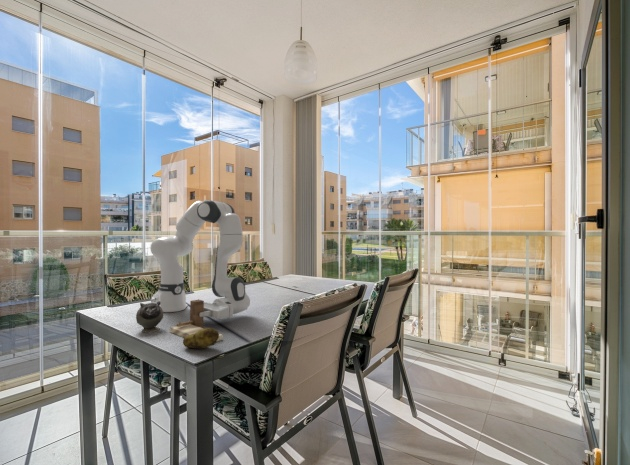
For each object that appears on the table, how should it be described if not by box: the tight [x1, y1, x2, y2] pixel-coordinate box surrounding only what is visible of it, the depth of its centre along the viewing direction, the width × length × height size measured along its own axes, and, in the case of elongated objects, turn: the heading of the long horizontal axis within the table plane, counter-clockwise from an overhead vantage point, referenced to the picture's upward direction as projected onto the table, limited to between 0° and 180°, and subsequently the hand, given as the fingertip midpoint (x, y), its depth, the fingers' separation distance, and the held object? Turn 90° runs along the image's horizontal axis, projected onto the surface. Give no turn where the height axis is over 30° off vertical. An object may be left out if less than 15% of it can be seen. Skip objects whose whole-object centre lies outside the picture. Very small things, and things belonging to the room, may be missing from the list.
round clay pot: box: [135, 301, 164, 333], centre depth 136 cm, size 10×12×10 cm
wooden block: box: [176, 299, 205, 328], centre depth 138 cm, size 4×11×12 cm, turn 145°
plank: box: [169, 324, 223, 343], centre depth 131 cm, size 24×8×2 cm, turn 55°
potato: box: [182, 327, 220, 350], centre depth 117 cm, size 8×13×8 cm, turn 60°
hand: (195, 313), depth 140 cm, fingers open, 5 cm apart
